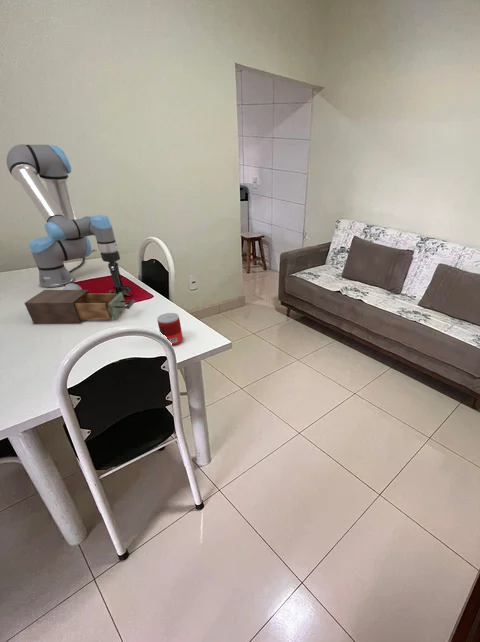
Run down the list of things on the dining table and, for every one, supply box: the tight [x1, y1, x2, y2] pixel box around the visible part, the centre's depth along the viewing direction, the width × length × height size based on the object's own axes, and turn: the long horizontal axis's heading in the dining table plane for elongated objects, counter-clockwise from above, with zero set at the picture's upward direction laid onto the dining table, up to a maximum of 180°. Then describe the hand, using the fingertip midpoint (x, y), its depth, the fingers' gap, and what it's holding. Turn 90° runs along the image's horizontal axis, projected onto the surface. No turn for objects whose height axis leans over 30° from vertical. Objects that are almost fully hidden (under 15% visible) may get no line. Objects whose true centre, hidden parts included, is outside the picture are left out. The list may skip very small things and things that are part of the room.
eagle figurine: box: [108, 285, 133, 297], centre depth 162 cm, size 8×7×9 cm
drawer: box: [74, 292, 136, 322], centre depth 144 cm, size 24×13×8 cm, turn 95°
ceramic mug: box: [62, 282, 83, 290], centre depth 158 cm, size 11×8×8 cm
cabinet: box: [24, 289, 91, 325], centre depth 143 cm, size 19×14×10 cm
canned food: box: [156, 312, 184, 347], centre depth 127 cm, size 8×8×11 cm
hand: (121, 295), depth 163 cm, fingers open, 11 cm apart
